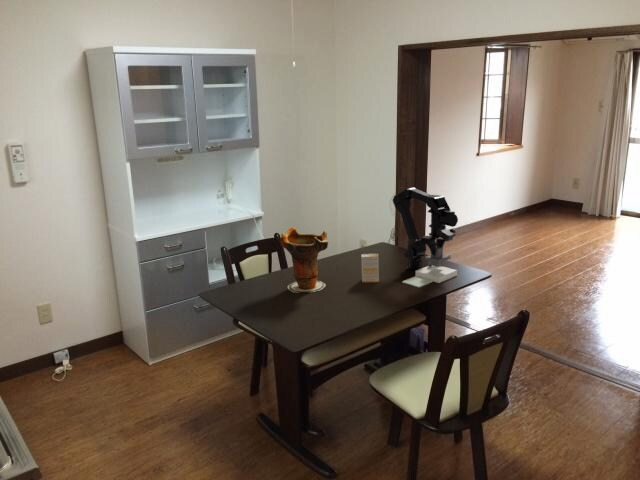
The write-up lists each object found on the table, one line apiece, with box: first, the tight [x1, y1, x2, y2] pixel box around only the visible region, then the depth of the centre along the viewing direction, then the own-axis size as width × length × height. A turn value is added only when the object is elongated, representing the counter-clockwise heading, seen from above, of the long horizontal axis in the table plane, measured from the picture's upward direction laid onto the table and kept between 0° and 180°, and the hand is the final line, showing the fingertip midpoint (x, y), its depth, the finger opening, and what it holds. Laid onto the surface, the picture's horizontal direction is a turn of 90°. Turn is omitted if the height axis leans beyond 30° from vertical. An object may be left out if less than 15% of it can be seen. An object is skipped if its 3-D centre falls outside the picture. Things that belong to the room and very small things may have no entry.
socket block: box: [414, 265, 458, 284], centre depth 262 cm, size 14×14×3 cm
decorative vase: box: [279, 226, 329, 294], centre depth 253 cm, size 21×23×28 cm
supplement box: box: [360, 253, 380, 283], centre depth 258 cm, size 8×5×13 cm, turn 84°
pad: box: [401, 276, 434, 289], centre depth 255 cm, size 10×10×1 cm
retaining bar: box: [427, 254, 452, 266], centre depth 270 cm, size 13×2×4 cm, turn 116°
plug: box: [424, 245, 450, 267], centre depth 260 cm, size 8×8×9 cm
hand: (436, 254), depth 259 cm, fingers closed on plug, 4 cm apart
